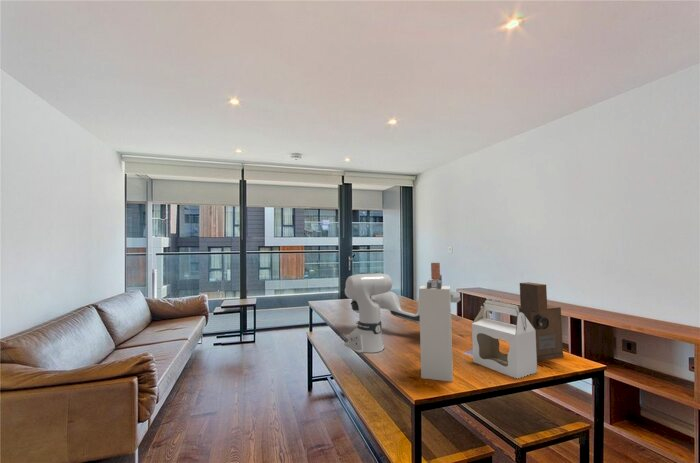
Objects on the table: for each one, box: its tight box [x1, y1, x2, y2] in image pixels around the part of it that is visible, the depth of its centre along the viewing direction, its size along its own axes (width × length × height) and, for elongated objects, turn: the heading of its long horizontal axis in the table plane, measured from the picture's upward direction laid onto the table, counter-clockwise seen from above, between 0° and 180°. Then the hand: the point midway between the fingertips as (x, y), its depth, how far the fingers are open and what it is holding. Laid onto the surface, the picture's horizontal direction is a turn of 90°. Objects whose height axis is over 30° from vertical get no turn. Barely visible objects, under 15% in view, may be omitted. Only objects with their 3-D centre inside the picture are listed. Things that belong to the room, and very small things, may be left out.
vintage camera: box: [512, 281, 565, 362], centre depth 149 cm, size 19×14×35 cm
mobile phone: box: [463, 348, 473, 357], centre depth 157 cm, size 8×1×15 cm
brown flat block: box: [430, 262, 443, 288], centre depth 142 cm, size 26×4×10 cm, turn 161°
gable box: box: [471, 299, 538, 380], centre depth 138 cm, size 22×13×28 cm, turn 28°
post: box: [418, 279, 454, 383], centre depth 131 cm, size 10×12×38 cm
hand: (439, 290), depth 165 cm, fingers open, 8 cm apart
